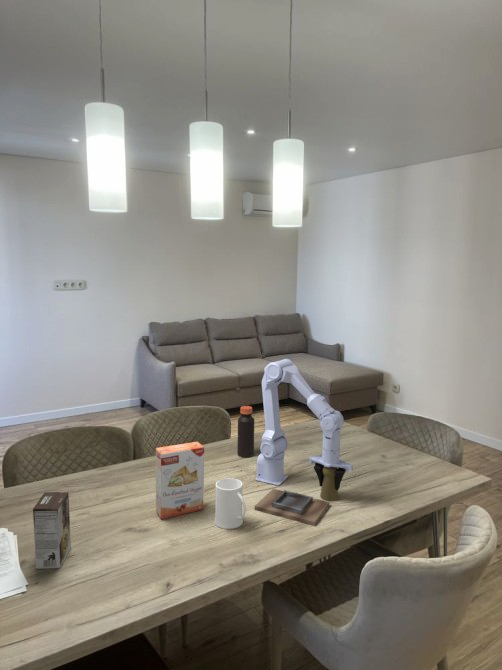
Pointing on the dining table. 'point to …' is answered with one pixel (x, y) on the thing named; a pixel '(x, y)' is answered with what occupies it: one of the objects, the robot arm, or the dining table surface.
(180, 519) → the dining table surface
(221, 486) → the mug
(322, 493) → the cork
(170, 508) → the cracker box
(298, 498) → the wooden socket base
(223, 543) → the dining table surface
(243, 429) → the bottle
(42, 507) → the coffee box
